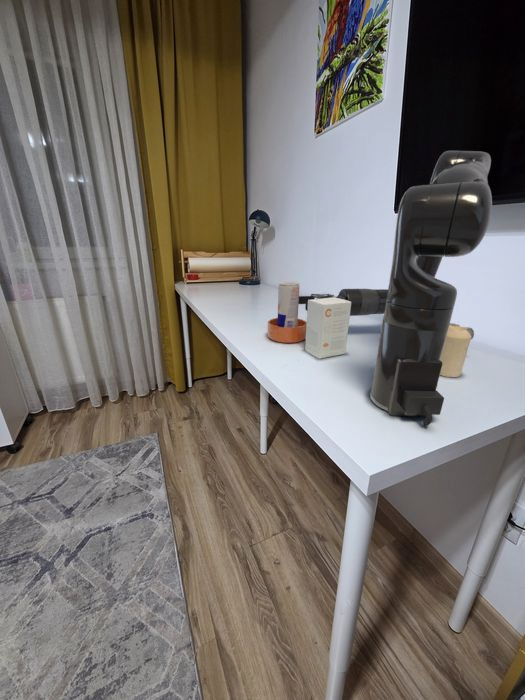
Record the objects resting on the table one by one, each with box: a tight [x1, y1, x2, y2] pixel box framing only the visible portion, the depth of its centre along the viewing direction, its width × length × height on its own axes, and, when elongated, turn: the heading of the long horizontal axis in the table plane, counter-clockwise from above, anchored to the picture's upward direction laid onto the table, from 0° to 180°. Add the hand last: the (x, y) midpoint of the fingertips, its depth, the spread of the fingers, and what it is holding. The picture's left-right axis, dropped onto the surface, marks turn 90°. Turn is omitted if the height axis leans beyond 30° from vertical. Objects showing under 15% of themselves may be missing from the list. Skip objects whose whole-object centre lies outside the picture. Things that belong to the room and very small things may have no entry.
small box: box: [304, 297, 351, 360], centre depth 70 cm, size 8×6×13 cm
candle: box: [440, 325, 472, 378], centre depth 60 cm, size 6×6×10 cm
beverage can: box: [277, 281, 300, 328], centre depth 80 cm, size 6×6×15 cm
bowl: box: [267, 317, 307, 344], centre depth 82 cm, size 11×11×4 cm
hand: (301, 303), depth 80 cm, fingers open, 8 cm apart
